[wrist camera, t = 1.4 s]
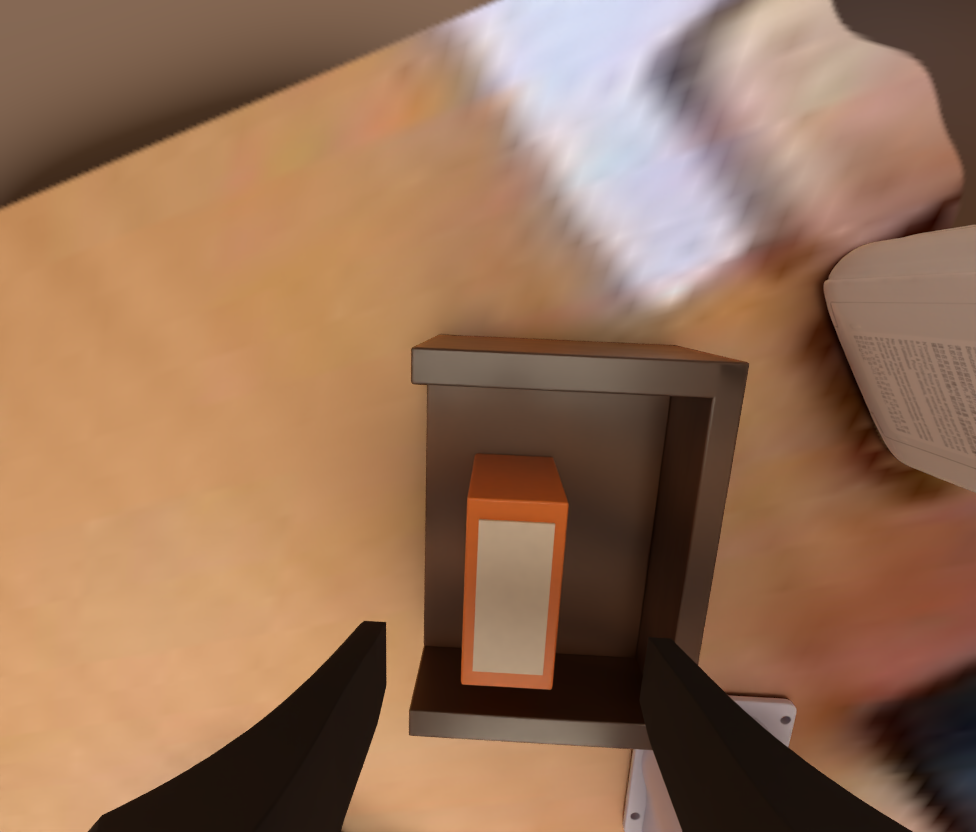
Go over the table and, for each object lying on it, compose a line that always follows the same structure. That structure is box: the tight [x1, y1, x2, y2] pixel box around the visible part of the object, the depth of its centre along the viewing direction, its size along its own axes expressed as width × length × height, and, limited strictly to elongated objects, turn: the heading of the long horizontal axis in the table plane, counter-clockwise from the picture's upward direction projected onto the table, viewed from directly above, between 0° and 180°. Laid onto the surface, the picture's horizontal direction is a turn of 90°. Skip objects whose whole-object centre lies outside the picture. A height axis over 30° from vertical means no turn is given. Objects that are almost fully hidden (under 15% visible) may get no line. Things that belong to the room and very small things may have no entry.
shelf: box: [409, 335, 749, 750], centre depth 20 cm, size 15×11×6 cm
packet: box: [461, 454, 569, 690], centre depth 18 cm, size 7×3×5 cm, turn 178°
